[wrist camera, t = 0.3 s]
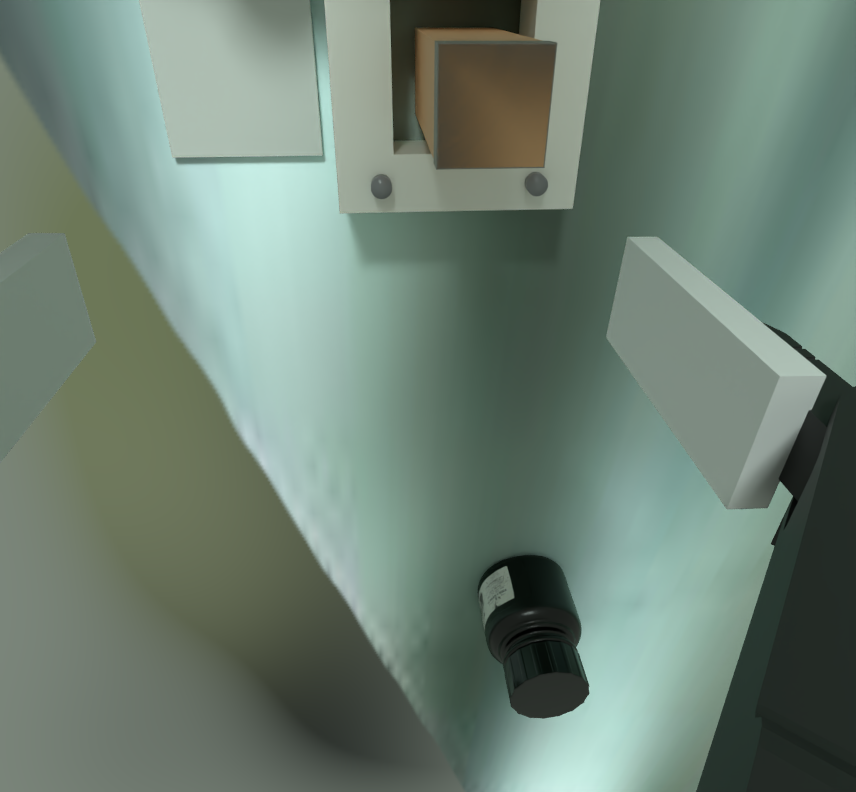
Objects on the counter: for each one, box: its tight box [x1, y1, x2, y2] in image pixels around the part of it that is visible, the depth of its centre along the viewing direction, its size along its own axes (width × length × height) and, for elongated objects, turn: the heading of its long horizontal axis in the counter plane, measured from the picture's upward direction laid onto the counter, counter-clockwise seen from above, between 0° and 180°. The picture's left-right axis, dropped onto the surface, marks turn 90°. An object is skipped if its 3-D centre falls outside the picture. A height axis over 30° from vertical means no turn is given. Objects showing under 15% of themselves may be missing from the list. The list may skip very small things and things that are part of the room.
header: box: [324, 0, 600, 213], centre depth 34 cm, size 14×14×5 cm
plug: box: [415, 28, 557, 170], centre depth 30 cm, size 5×5×14 cm
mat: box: [139, 0, 323, 158], centre depth 35 cm, size 9×9×1 cm
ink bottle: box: [478, 555, 589, 718], centre depth 57 cm, size 10×9×12 cm
